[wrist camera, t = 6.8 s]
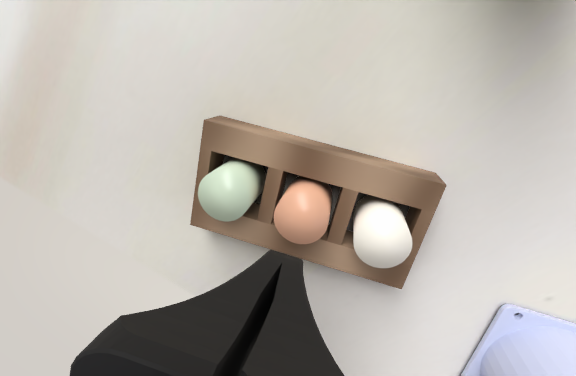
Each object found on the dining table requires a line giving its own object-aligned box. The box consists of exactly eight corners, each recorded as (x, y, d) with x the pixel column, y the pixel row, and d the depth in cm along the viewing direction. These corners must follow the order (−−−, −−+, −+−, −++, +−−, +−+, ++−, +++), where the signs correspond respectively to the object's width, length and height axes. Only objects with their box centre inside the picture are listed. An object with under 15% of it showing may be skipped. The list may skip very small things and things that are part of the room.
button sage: (270, 162, 21) (253, 179, 17) (261, 203, 22) (243, 227, 18) (226, 150, 21) (201, 164, 18) (220, 191, 22) (194, 213, 19)
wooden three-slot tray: (435, 172, 19) (446, 185, 17) (396, 267, 22) (401, 289, 20) (220, 115, 21) (204, 119, 19) (206, 210, 23) (190, 224, 21)
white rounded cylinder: (409, 200, 20) (421, 227, 16) (392, 242, 21) (400, 275, 17) (361, 187, 20) (363, 210, 17) (347, 229, 21) (346, 258, 18)
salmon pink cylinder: (338, 181, 20) (334, 202, 17) (325, 222, 21) (320, 250, 18) (292, 168, 21) (280, 187, 17) (282, 209, 22) (268, 235, 18)
